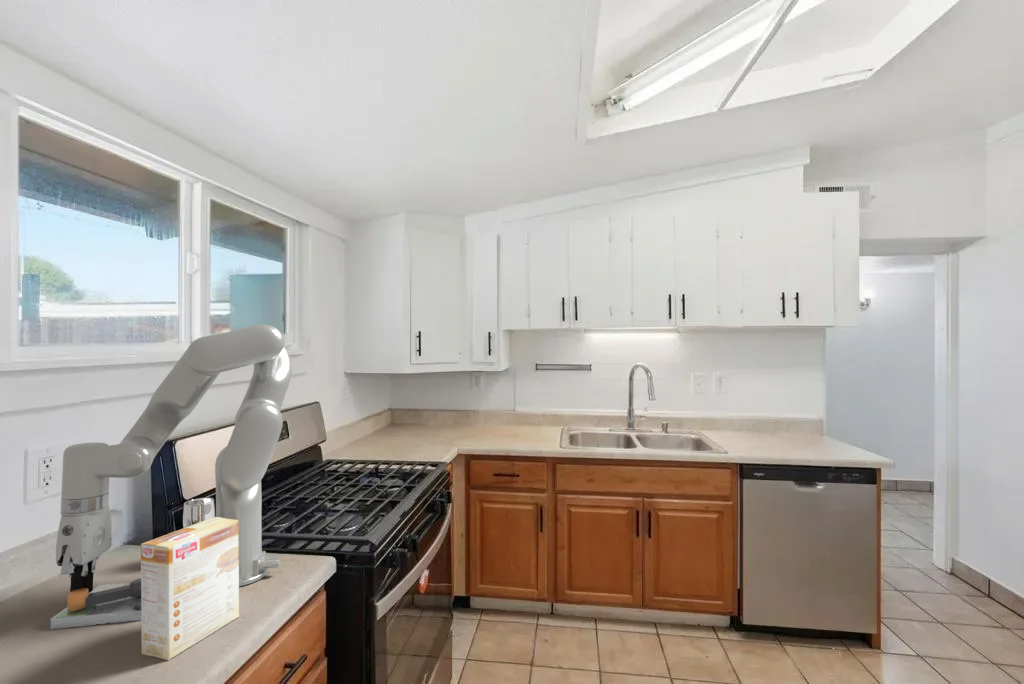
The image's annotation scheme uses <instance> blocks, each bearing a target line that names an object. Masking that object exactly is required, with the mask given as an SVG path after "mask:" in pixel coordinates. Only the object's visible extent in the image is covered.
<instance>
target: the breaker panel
mask: <svg viewBox="0 0 1024 684" xmlns="http://www.w3.org/2000/svg"><path fill="white" fill-rule="evenodd" d="M130 583H131V582H120V583H119V582H118V583H110V584H109V583H108V584H100V585H96V586H95V587H93V590H92V591H91V592H90V593H95V592H99V591H104V590H109V589H113V588H118V587H122V586H127V585H130ZM90 593H88V594H90ZM140 601H141V596H139V597H128V598H124V599H119V600H115V601H110V602H106V603H102V604H97V605H93V606H89V607H85V608H83V609H80V610H76V611H67V607H65V608H64V609H63V610H61V611H59V612H58V613H57V614H56V615H54V616H53V617H51V618H50V630H58V629H59V630H60V629H68V628H78V627H88V626H89V627H90V626H97V625H96V624H100V625H107V624H106V623H110V624H117V623H119V624H120V623H127V622H137V621H140V622H141V609H140V610H138V611H136V610H134V606H135V605H136V604H137V603H138V602H140Z"/></svg>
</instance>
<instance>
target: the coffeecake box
mask: <svg viewBox="0 0 1024 684" xmlns="http://www.w3.org/2000/svg"><path fill="white" fill-rule="evenodd" d="M140 578H141V620H140V622H141V631H140V632H141V639H140V640H141V655H144V656H148V657H155V658H158V659H162V660H164V661H171V660H172V658H175V657H176V656H178V655H180V654H181V653H182V652H184V651H186V650H188V649H189V648H190V647H193V646H194V645H196V644H197V643H199V642H200V641H202V640H204V639H206V638H207V637H208V636H210V635H212V634H214V633H215V632H217V631H218V630H220V629H222V628H223V627H225V626H226V625H228V624H230V623H231V622H233V621H235V620H236V619H238V618H240V586H239V551H238V520H234V519H226V518H221V517H216V516H215V517H213V518H210V519H207V520H204V521H202V522H199V523H197V524H194V525H191V526H189V527H186V528H181V529H179V530H175V531H172V532H169V533H168V534H165V535H162V536H159V537H156V538H154V539H151V540H148V541H145V542H143V543H141V544H140Z"/></svg>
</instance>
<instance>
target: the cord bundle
mask: <svg viewBox="0 0 1024 684" xmlns="http://www.w3.org/2000/svg"><path fill="white" fill-rule="evenodd" d="M140 609H141V601H140V602H138V603H137V604H136V605H135V606H134V610H136V611H138V610H140Z"/></svg>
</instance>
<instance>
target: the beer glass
mask: <svg viewBox="0 0 1024 684" xmlns="http://www.w3.org/2000/svg"><path fill="white" fill-rule="evenodd" d="M213 517H216V507H215V499H214V498H213V497H200V498H194V499H189V500H187V501H185V502H184V503H183V514H182V525H183V526H182V527H183V528H186V527H189V526H191V525H194V524H197V523H199V522H202V521H204V520H207V519H210V518H213ZM183 528H182V529H183Z"/></svg>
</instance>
